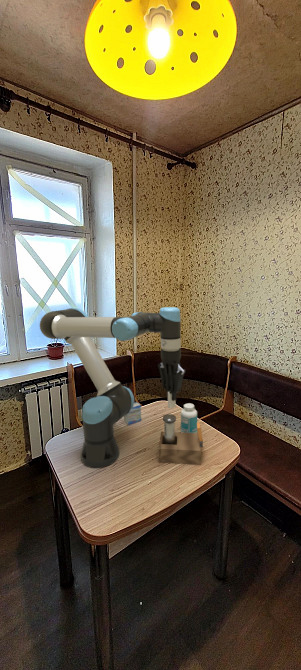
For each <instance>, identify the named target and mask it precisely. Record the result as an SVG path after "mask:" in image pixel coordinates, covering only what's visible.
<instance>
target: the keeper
mask: <svg viewBox="0 0 301 670" xmlns="http://www.w3.org/2000/svg"><path fill="white" fill-rule="evenodd" d="M197 433H198V435H199V440H200V441H203V442H204V440H203V432H202V427H201V422H200V421H199V422H198V421H197Z"/></svg>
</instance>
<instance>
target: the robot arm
mask: <svg viewBox="0 0 301 670" xmlns="http://www.w3.org/2000/svg"><path fill="white" fill-rule="evenodd" d="M181 322H182V319H181V310H180V309H179V308H178V307H176V306H174V307H173V306H171V307H161V308H159V312H143V311H140V312H133V313H132V314H131V315H129V316H88V315H87V313H86V312H85V311H84V310H82V309H80V308H74V307H73V308H66V309H60V310H55V311H54V310H52V311H49V312H46V313H45V314H44V315H43V316H42V317H41V319H40V321H39V330H40V332H41V334H43V336H44V337H46V338H48V339H52V340H63V339H64V341H65V342H66V344H69V345H71V346H72V348H73V350H74V351H75V353H76V355H77V357H78V359H79V360H80V361H81V363H82V365H83V367H84V369H85V371H86V373H87V374H88V377H90V379H91V382H93V384H94V386H95V388H96V390H97V394H96V396H95V397H91V398H89V399H88V400H86V401H85V403H83V406H82V408H81V409H82V413H81V418H82V426H83V427H82V428H83V429H82V430H83V437H84V440H83V445H82V448H81V451H80V453H81V454H80V456H81V457H80V458H81V459H82V460H81V462H82V461H83V462H82V464H83V463H84V464H83V465H85V466H86V465H87V466H86V467H88V466H90V467H89V468H92V467H94V469H100V467H101V468H105V467H108V466H110V465H112V464H113V463H114V462H116V461H117V460H118V458H119V456H120V448H119V444H118V443H117V440H116V438H115V431H114V430H115V429H114V425H116V424H117V423H118V422H120V420H121V419H123V418H124V416H125V415H126V414H128V413H129V411H130V410H131V409H132V408H133V406H134V403H135V397H134V394H133V392H132V390H131V389H130V388H129V387H126V386H123V385H122V383H121V382H120V381H118V380H116V379H115V378H114V376H113V375H112V373H111V371H110V370H109V368H108V366H107V364H106V362H105V361H104V359H103V357H102V355H101V353H100V352H99V350H98V348H97V347H96V345H95V343H94V341H93V340H92V339H91V338H97V339H99V338H103V339H105V338H107V339H109V338H110V339H116V340H118V341H120V342H124V341H125V342H126V341H131V340H132V339H135V338H137V337H139V336H142V335H144V334H147V333H156V334H157V333H158V334H160V348H161V350H160V358H161V362H160V363H158V364H157V367H158V370H159V374H160V380H161V386H162V389H165V391H166V398H167V408H168V409H170V410H172V409H173V408H175V407H176V406H177V405H176V404H177V403H176V401H177V393H179V392H181V390H182V387H183V386H182V385H183V381H184V380H183V379H184V375H185V373H186V371H187V370H186V369H183V368H182V367H181V362H180V361H181V358H182V350H181V348H182V344H181V343H182V342H181V338H182V337H181V331H182V330H181V326H182V325H181Z"/></svg>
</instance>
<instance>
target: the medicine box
mask: <svg viewBox="0 0 301 670" xmlns="http://www.w3.org/2000/svg"><path fill="white" fill-rule="evenodd" d="M141 421H142V406H141V404H140V403H139V402H134V406H133V408H132V409H131V410H130V411H129V413H128V414H126V415H125V416H123V422H124V423H125V424H126V425H128V426H130V425H134V424H135V423H139V422H141Z"/></svg>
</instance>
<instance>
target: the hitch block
mask: <svg viewBox="0 0 301 670" xmlns="http://www.w3.org/2000/svg"><path fill="white" fill-rule="evenodd" d="M203 447H204V440H203V441H200V440H199V435H198V432H197V433H183V432H181V431H180V432H178V431H177V432H176V431H175V445H169V444H165V431H162V430H161V431H160V436H159V443H158V463H163V464H177V465H179V464H181V465H193V466H194V465H195V466H197V465H198V466H201V465H202V464H201V463H202V461H201V458H202V454H201V453H202V450H201V449H202V448H203Z"/></svg>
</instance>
